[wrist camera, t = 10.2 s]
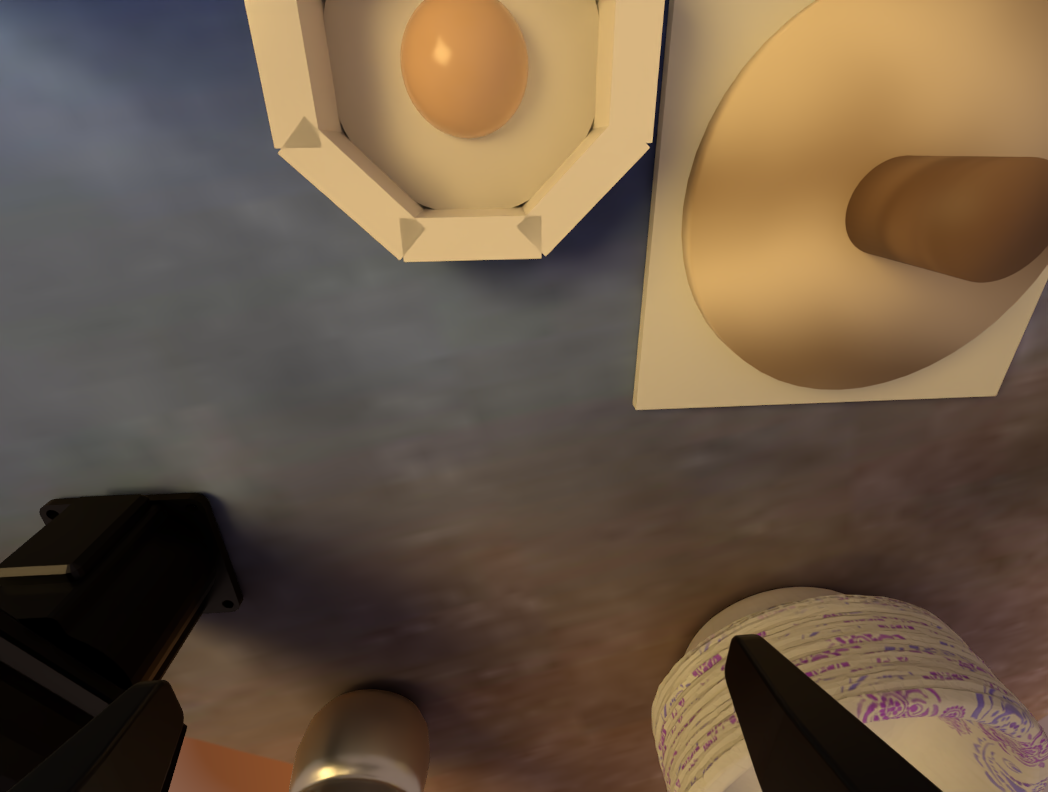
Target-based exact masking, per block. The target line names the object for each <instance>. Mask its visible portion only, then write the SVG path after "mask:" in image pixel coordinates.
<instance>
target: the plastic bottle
mask: <svg viewBox="0 0 1048 792" xmlns="http://www.w3.org/2000/svg"><path fill="white" fill-rule="evenodd" d="M429 763H430V746H429V731H428V726H427V724H426V722H425V720H424V718H423V716H422V714H421V713H420V711H419V709H418V707H417V706H416V705H415V704H414V703H413V702H412V701H410V700H409V699H407V698H406V697H403V696H401V695H399V694H396V693H393V692H390V691H384V690H375V689H366V690H357V691H352V692H348V693H345V694H342V695H340V696H338V697H336V698H334V699H333V700H331V701H330V702H329V703H328V704H327V705H326V706H324V707H323V708H322V709H321V710H320V711H319V712H318V713H317V714H316V715H315V716H314V717H313V719H312V720H311V722H310V724H309V726H308V728H307V730H306V732H305V734H304V736H303V738H302V740H301V742H300V745H299V747H298V749H297V752H296V756H295V761H294V766H293V771H292V777H291V782H290V789H289V792H424V787H425V782H426V778H427V773H428V768H429Z"/></svg>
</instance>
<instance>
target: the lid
mask: <svg viewBox="0 0 1048 792" xmlns="http://www.w3.org/2000/svg"><path fill="white" fill-rule="evenodd" d="M681 236H682V250H683V261H684V266H685V271H686V275H687V280H688V284H689V287H690V289H691V292H692V295H693V298H694V300H695V303H696V305H697V307H698V309H699V310H700V312H701V314H702V316H703V318H704V320H705V321H706V323H707V324H708V325H709V327H710V328H711V329H712V330H713V332H714V333H715V334H716V336H717V337H718V338H719V339H720V340H721V341H722V342H723V343H724V344H725V345H726V346H727V347H729V348H730V349H731V350H732V351H733V352H734V353H735V354H736V355H738V356H739V357H740V358H741V359H742V360H744V361H745V362H747V363H748V364H750V365H751V366H753V367H754V368H755V369H757V370H758V371H760V372H762V373H764V374H766V375H768V376H770V377H772V378H775V379H777V380H779V381H782V382H786V383H789V384H792V385H796V386H800V387H807V388H813V389H827V390H843V389H853V388H862V387H867V386H872V385H877V384H881V383H885V382H889V381H892V380H895V379H898V378H901V377H904V376H907V375H909V374H912V373H914V372H916V371H919V370H921V369H923V368H925V367H928V366H930V365H932V364H934V363H936V362H937V361H939V360H941V359H943V358H945V357H946V356H948V355H950V354H952V353H954V352H955V351H957V350H958V349H960V348H961V347H963V346H964V345H965V344H967V343H968V342H970V341H971V340H973V339H974V338H976V337H977V336H978V335H980V334H981V333H982V332H983V331H984V330H986V329H987V328H988V327H989V326H991V325H992V324H993V323H994V322H996V321H997V320H998V319H999V318H1000V317H1001V316H1002V315H1003V314H1004V313H1005V312H1006V311H1007V310H1008V309H1009V308H1011V307H1012V306H1013V305H1014V304H1015V303H1016V302H1017V301H1018V300H1019V299H1020V297H1021V296H1022V295H1023V294H1024V293H1025V292H1026V291H1027V290H1028V288H1029V287H1030V286H1031V285H1032V284H1033V283H1034V282H1035V281H1036V279H1037V278H1038V277H1039V275H1040V274H1041V273H1042V271H1043V270H1044V269H1045V267H1046V266H1047V265H1048V0H815V1H814V2H812V3H811V4H809V5H808V6H807V7H805V8H804V9H803V10H801V11H800V12H799V13H797V14H796V15H795V16H793V17H792V18H791V19H789V20H788V21H787V22H786V23H785V24H784V25H783V26H782V27H781V28H780V29H779V30H778V31H777V32H775V33H774V34H773V35H772V36H771V37H770V38H769V39H768V40H767V41H766V42H765V43H764V44H763V45H762V46H761V48H760V49H759V50H758V51H757V52H756V53H755V54H754V56H753V57H752V58H751V59H750V60H749V61H748V62H747V64H746V65H745V66H744V67H743V68H742V70H741V71H740V73H739V74H738V76H737V77H736V78H735V80H734V81H733V83H732V84H731V86H730V87H729V89H728V90H727V91H726V93H725V94H724V96H723V98H722V100H721V101H720V103H719V105H718V107H717V109H716V110H715V112H714V114H713V116H712V118H711V119H710V121H709V123H708V125H707V128H706V130H705V133H704V135H703V137H702V140H701V142H700V144H699V147H698V149H697V152H696V155H695V158H694V161H693V165H692V168H691V172H690V175H689V178H688V182H687V188H686V194H685V199H684V205H683V215H682V233H681Z"/></svg>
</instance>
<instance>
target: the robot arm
mask: <svg viewBox="0 0 1048 792" xmlns="http://www.w3.org/2000/svg"><path fill="white" fill-rule="evenodd" d="M192 504H194V505H196V506H197V507H194V506H193V505H192ZM39 512H40V516H41V518H42V519H43V521H44V523H45V525H46V526H44V527H43V528H42V529H41V530H40V531H39V532H37V533H36V534H35V535H34V536H33V537H31V538H30V539H29V540H28V541H27V542H25V543H24V544H23V545H22V546H21V547H20V548H18V549H17V550H16V551H15V552H14V553H12V554H11V555H10V556H9V557H8V558H7V559H5V560H4V561H3V562H2V563H1V564H0V792H168V790H169V787H170V783H171V780H172V777H173V773H174V770H175V766H176V763H177V760H178V756H179V753H180V750H181V746H182V743H183V740H184V736H185V733H186V729H187V725H185V724H184V723H183V720H184V716H183V711H182V708H181V706H180V704H179V702H178V700H177V698H176V695H175V693H174V691H173V689H172V687H171V685H170V683H169V682H167V681H165V680H161V679H162V677H163V676H164V674H165V672H166V671H167V669H168V668H169V666H170V664H171V663H172V661H173V660H174V658H175V656H176V655H177V653H178V651H179V650H180V648H181V647H182V645H183V643H184V642H185V640H186V639H187V637H188V635H189V634H190V632H191V631H192V629H193V627H194V626H195V624H196V623H197V621H198V619H199V618H200V616H201V615H202V613H220V612H233V611H236V610H237V609H238V608H239V606H240V604H241V603H242V601H243V596H242V593H241V590H240V587H239V584H238V582H237V579H236V576H235V573H234V570H233V567H232V565H231V562H230V559H229V556H228V553H227V551H226V548H225V545H224V542H223V539H222V537H221V534H220V531H219V528H218V525H217V523H216V520H215V517H214V514H213V511H212V509H211V506H210V503H209V501H208V499H207V498H206V497H205V496H203V495H201V494H199V493H179V494H156V495H141V494H135V495H112V496H90V497H80V498H67V499H53V500H50V501H49V502H48V503H47V504H45V505H44V506H43V507H42V508H40V511H39ZM724 673H725V680H726V684H727V687H728V690H729V693H730V696H731V699H732V702H733V705H734V709H735V712H736V715H737V718H738V721H739V724H740V727H741V730H742V733H743V736H744V739H745V742H746V745H747V749H748V752H749V755H750V758H751V761H752V764H753V767H754V770H755V773H756V776H757V779H758V782H759V784H760V787H761V790H762V792H943V791H942V790H941V789H940V788H938V787H937V786H936V785H935V784H934V783H933V782H931V781H930V780H929V779H928V778H927V777H925V776H924V775H923V774H922V773H921V772H920V771H918V770H917V769H916V768H915V767H914V766H913V765H911V764H910V763H909V762H908V761H907V760H906V759H904V758H903V757H902V756H901V755H900V754H899V753H897V752H896V751H895V750H894V749H893V748H891V747H890V746H889V745H888V744H887V743H886V742H884V741H883V740H882V739H881V738H880V737H879V736H877V735H876V734H875V733H874V732H873V731H872V730H870V729H869V728H868V727H867V726H866V725H865V724H863V723H862V722H861V721H860V720H859V719H858V718H856V717H855V716H854V715H853V714H852V713H850V712H849V711H848V710H847V709H846V708H845V707H843V706H842V705H841V704H840V703H839V702H838V701H836V700H835V699H834V698H833V697H832V696H831V695H829V694H828V693H827V692H826V691H825V690H824V689H822V688H821V687H820V686H819V685H818V684H817V683H815V682H814V681H813V680H812V679H811V678H809V677H808V676H807V675H806V674H805V673H804V672H802V671H801V670H800V669H799V668H798V667H797V666H795V665H794V664H793V663H792V662H791V661H790V660H788V659H787V658H786V657H785V656H784V655H783V654H781V653H780V652H779V651H778V650H777V649H775V648H774V647H773V646H772V645H771V644H770V643H768V642H767V641H766V640H765V639H764V638H762V637H761V636H759V635H757V634H744V635H735V636H734V637H733V638H732V639H731V642H730V646H729V651H728V655H727V659H726V663H725V669H724Z"/></svg>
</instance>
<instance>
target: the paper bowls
mask: <svg viewBox="0 0 1048 792" xmlns="http://www.w3.org/2000/svg"><path fill="white" fill-rule="evenodd" d="M744 634H757V635H759V636H761V637H762V638H764V639H765V640H766V641H767V642H768V643H770V644H771V645H772V646H773V647H774V648H775V649H777V650H778V651H779V652H780V653H781V654H783V655H784V656H785V657H786V658H787V659H788V660H790V661H791V662H792V663H793V664H794V665H795V666H797V667H798V668H799V669H800V670H801V671H802V672H804V673H805V674H806V675H807V676H808V677H809V678H811V679H812V680H813V681H814V682H815V683H817V684H818V685H819V686H820V687H821V688H822V689H824V690H825V691H826V692H827V693H828V694H829V695H831V696H832V697H833V698H834V699H835V700H836V701H838V702H839V703H840V704H841V705H842V706H843V707H845V708H846V709H847V710H848V711H849V712H850V713H852V714H853V715H854V716H855V717H856V718H858V719H859V720H860V721H861V722H862V723H863V724H865V725H866V726H867V727H868V728H869V729H870V730H872V731H873V732H874V733H875V734H876V735H877V736H879V737H880V738H881V739H882V740H883V741H884V742H886V743H887V744H888V745H889V746H890V747H891V748H893V749H894V750H895V751H896V752H897V753H899V754H900V755H901V756H902V757H903V758H904V759H906V760H907V761H908V762H909V763H910V764H911V765H913V766H914V767H915V768H916V769H917V770H918V771H920V772H921V773H922V774H923V775H924V776H925V777H927V778H928V779H929V780H930V781H931V782H933V783H934V784H935V785H936V786H937V787H938V788H940V789H941V790H942V791H943V792H1042V791H1043V790H1044V788H1045V787H1046V784H1047V782H1048V738H1047V736H1046V734H1045V732H1044V730H1043V728H1042V727H1041V726H1040V725H1039V723H1038V722H1037V721H1036V720H1035V718H1034V717H1033V715H1032V714H1031V713H1030V712H1029V710H1028V709H1027V708H1026V707H1025V706H1024V705H1023V704H1022V703H1021V702H1020V701H1019V700H1018V698H1017V697H1016V696H1015V695H1014V694H1013V693H1012V692H1011V691H1009V690H1008V689H1007V688H1006V687H1005V685H1003V684H1002V683H1001V682H1000V680H998V679H997V678H996V677H995V675H994V674H993V673H992V671H991V670H990V669H989V668H988V667H987V665H986V664H985V663H984V662H983V660H982V659H981V658H980V657H978V656H977V655H976V654H975V653H973V652H972V650H971V649H970V648H969V647H968V645H967V644H966V643H965V642H964V641H963V640H962V638H961V637H960V636H959V635H957V634H956V633H955V632H954V631H953V630H952V629H951V628H950V627H949V626H948V625H947V624H945V623H944V622H943V621H941V620H940V619H939V618H938V617H936V616H935V615H934V614H932V613H930V612H929V611H927V610H925V609H923V608H920V607H917V606H915V605H913V604H910V603H907V602H903V601H900V600H896V599H892V598H887V597H883V596H865V595H845V594H843V593H840V592H837V591H833V590H829V589H823V588H815V587H788V588H780V589H775V590H770V591H765V592H762V593H759V594H756V595H753V596H750V597H747V598H745V599H743V600H741V601H738V602H736V603H734V604H732V605H731V606H729V607H727V608H725V609H724V610H722V611H721V612H720V613H718V614H717V615H715V616H714V617H712V618H711V619H710V620H709V621H708V622H707V623H706V624H705V625H704V626H703V627H702V628H701V629H700V630H699V632H698V633H697V634H696V635H695V637H694V638H693V639H692V641H691V643H690V645H689V646H688V648H687V650H686V653H685V655H684V657H682V658H681V659H680V660H679V661H678V662H677V663H676V664H675V665H674V666H673V668H672V669H671V670H670V672H669V674H667V675H666V677H665V678H664V680H663V681H662V683H661V684H660V685H659V687H658V691H657V693H656V696H655V699H654V702H653V704H652V715H651V717H652V729H653V735H654V737H655V742H656V749H657V752H658V757H659V762H660V766H661V769H662V771H663V775H664V779H665V782H666V787H667V792H762V790H761V787H760V784H759V782H758V779H757V776H756V773H755V770H754V767H753V764H752V761H751V758H750V755H749V752H748V749H747V745H746V742H745V739H744V736H743V733H742V730H741V727H740V724H739V721H738V718H737V715H736V712H735V709H734V705H733V702H732V699H731V696H730V693H729V690H728V687H727V684H726V680H725V673H724V669H725V663H726V659H727V655H728V651H729V646H730V642H731V639H732V638H733V637H734V636H735V635H744Z"/></svg>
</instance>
